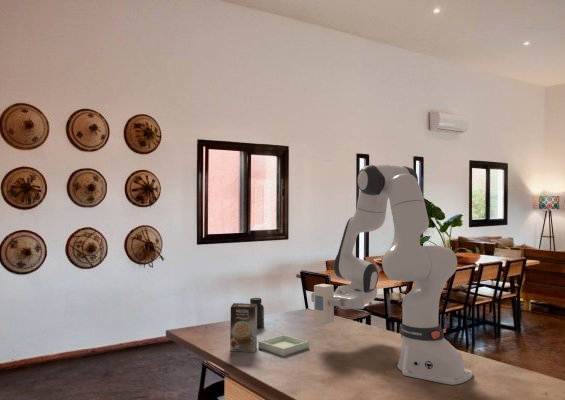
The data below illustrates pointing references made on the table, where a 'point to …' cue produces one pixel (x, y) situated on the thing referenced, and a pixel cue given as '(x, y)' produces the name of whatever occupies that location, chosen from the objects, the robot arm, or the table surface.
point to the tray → (283, 345)
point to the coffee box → (243, 327)
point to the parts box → (323, 303)
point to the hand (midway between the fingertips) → (322, 302)
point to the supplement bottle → (259, 311)
